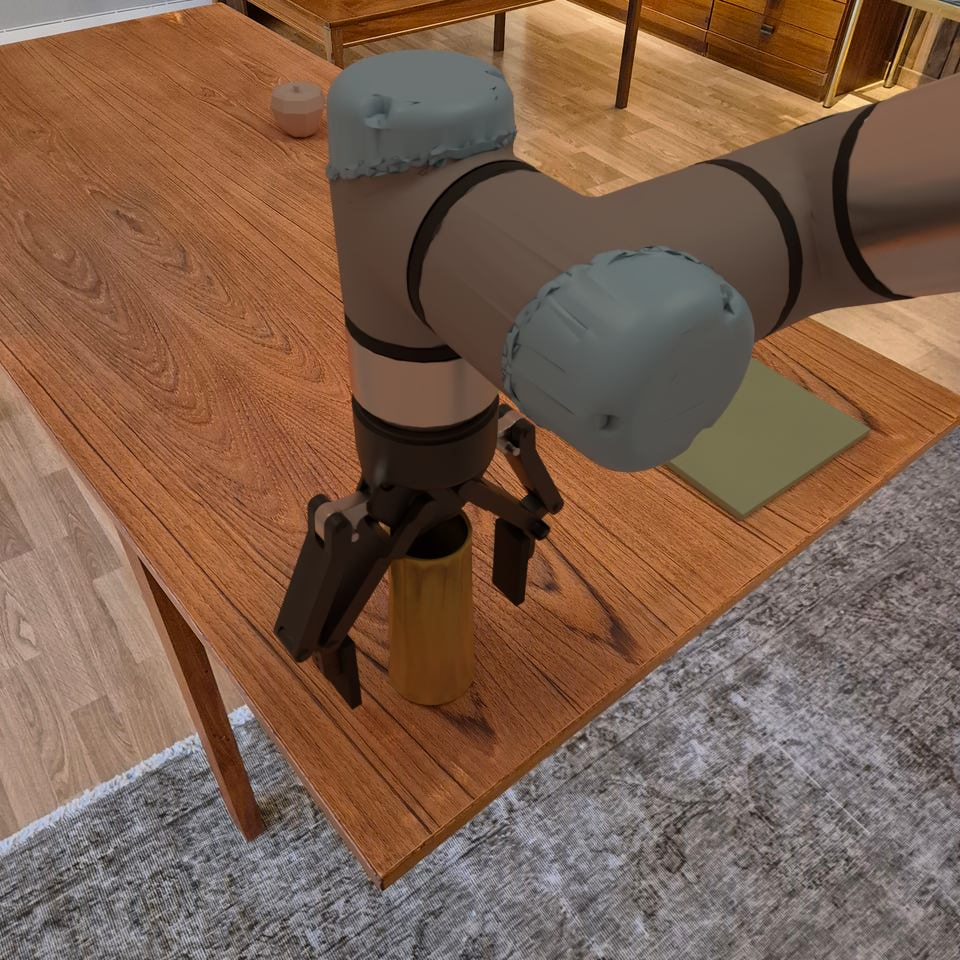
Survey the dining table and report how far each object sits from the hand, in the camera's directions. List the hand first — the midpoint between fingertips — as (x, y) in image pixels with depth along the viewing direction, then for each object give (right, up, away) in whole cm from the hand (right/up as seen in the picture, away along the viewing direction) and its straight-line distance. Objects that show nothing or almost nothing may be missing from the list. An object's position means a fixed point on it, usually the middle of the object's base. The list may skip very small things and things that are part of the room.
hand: (431, 640), depth 60 cm
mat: (+24, +18, +25) cm, 39 cm away
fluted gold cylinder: (0, -3, +2) cm, 4 cm away
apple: (-22, +60, +67) cm, 93 cm away
